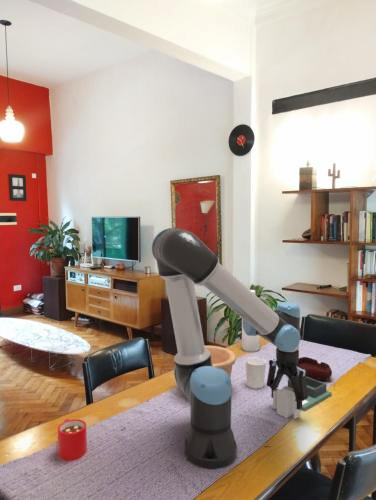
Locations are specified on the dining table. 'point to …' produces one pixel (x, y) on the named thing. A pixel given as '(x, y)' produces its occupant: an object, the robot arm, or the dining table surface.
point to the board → (313, 392)
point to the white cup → (255, 372)
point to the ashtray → (315, 368)
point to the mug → (72, 439)
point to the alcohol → (250, 339)
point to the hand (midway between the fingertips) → (286, 412)
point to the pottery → (222, 358)
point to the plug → (285, 401)
